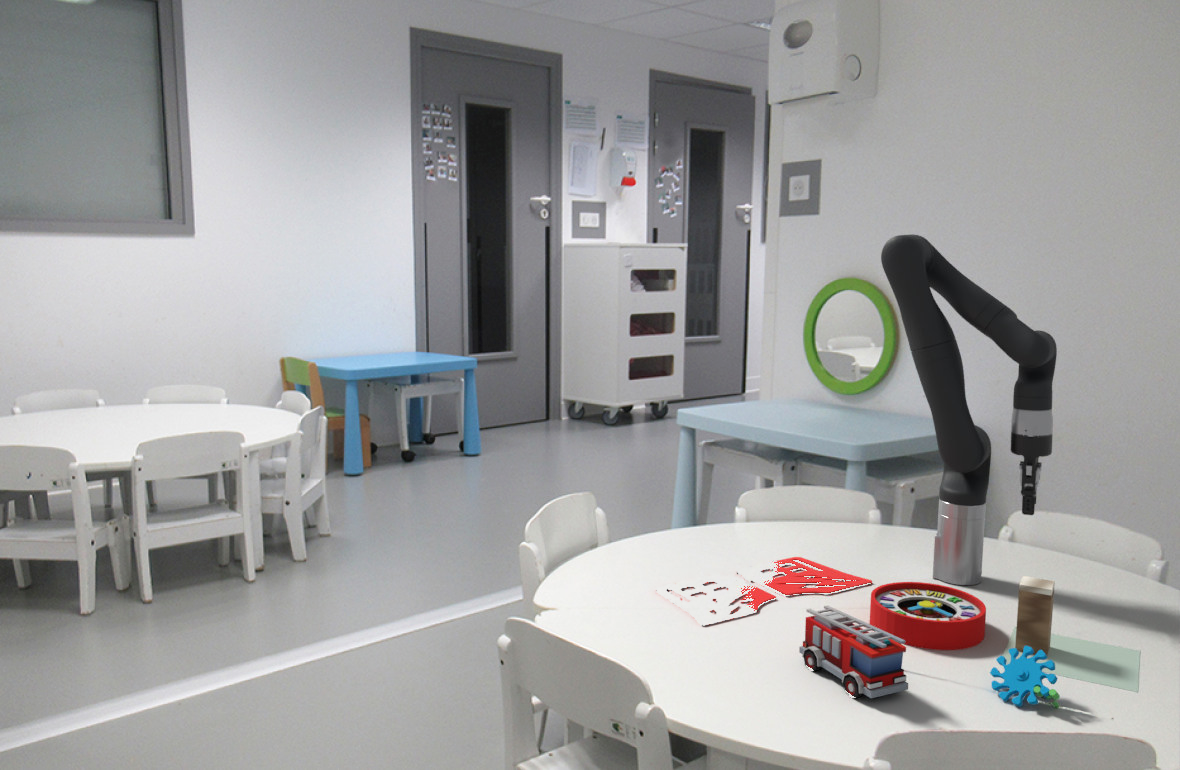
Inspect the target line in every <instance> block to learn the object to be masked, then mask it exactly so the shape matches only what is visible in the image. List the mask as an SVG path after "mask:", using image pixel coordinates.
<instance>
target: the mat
mask: <svg viewBox="0 0 1180 770" xmlns="http://www.w3.org/2000/svg"><path fill="white" fill-rule="evenodd" d="M1016 629H1017V626H1014V627H1013V629H1012V632H1011V633H1010V634H1011V635H1010V637H1009V639H1008V642H1007V645H1006V646H1005V649H1004V652H1003V655H1002V656H1004V657H1005V659H1006V660H1007V662H1006V665H1007V664H1009V663H1010V661H1011V655H1010V653H1009V649H1011V648H1015V644H1016ZM1022 654H1023V652H1019V655H1018V656H1017V657H1016V659H1018V658H1020V656H1021V655H1022ZM1033 656H1034V654H1032V655H1029V656H1027V658H1031V657H1033ZM1049 660H1052V661H1053V662H1054V663H1055V670H1053V671H1051V670H1049V669H1048V668H1043V669H1042V672H1044V673H1046V674H1054V675H1055V676H1059V677H1065V678H1069V679H1074V680H1079V681H1083V682H1088V683H1092V684H1096V685H1101V686H1107V687H1111V688H1116V689H1121V690H1126V691H1130V692H1135V693H1139V682H1140V681H1139V679H1140V662H1141V661H1140V660H1141V650H1138V649H1133V648H1128V647H1123V646H1116V645H1113V644H1107V643H1101V642H1097V641H1093V640H1087V639H1081V638H1076V637H1070V636H1066V635H1060V634H1055V633H1051V640H1050V648H1049V652H1048V655H1047V659H1045V660H1037V662H1036V663H1044V662H1047V661H1049Z"/></svg>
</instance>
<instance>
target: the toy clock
mask: <svg viewBox="0 0 1180 770" xmlns="http://www.w3.org/2000/svg"><path fill="white" fill-rule="evenodd" d="M869 606H870V607H869V608H870V609H869V624H870V625H872V626H874V627H877V628H879V629H881V630H883V631H885V632H888V633H890V634H892V635H894V636H896V637H899V638H901V639H903V640H905V643H903V644H901V643H899V644H901V645H904V646H910V647H914V648H919V649H926V650H934V651H958V650H959V651H960V650H967V649H969V648H973V647H976V646H978V645H979V644H981V643H982V642H983V641H984V639H985V634H986V616H987V608H986V605H985V603H984V602H983V601H982V600H981V599H979V598H978V597H976V596H975V595H973V594H971V593H968V592H966V591H963V590H961V589H958V588H954V587H951V586H946V585H943V584H942V585H941V584H938V583H931V582H922V581H920V582H919V581H898V582H890V583H885V584H881V585H879V586H877V587H875V588H874V589H873V590H872V591H871V593H870V605H869Z"/></svg>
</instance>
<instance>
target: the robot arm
mask: <svg viewBox="0 0 1180 770" xmlns="http://www.w3.org/2000/svg"><path fill="white" fill-rule="evenodd" d="M880 262H881V266H882V269H883V272H884V273H885V276H886V278H887V280H888V283H889V285H890V288H891V290H892V292H893V295H894V297H895V300H896V303H897V306H898V309H899V312H900V316H901V320H902V323H903V327H904V331H905V334H906V339H907V341H908V346H909V350H910V354H911V356H912V359H913V363H914V365H915V370H916V372H917V375H918V378H919V381H920V384H921V387H922V389H923V393H924V396H925V398H926V401H927V403H928V407H929V409H930V413H931V416H932V420H933V427H934V431H935V437H936V442H937V448H938V453H939V456H940V458H941V460H942V462H943V470H942V471H943V473H942V479H941V481H940V485H939V495H938V513H937V514H938V515H937V532H936V533H935V534H934V544H933V545H934V547H933V565H932V567H933V568H932V578H933V579H936V580H940V581H941V582H945V583H946V584H952V585H958V586H973V585H978V584H980V583H981V581H982V573H983V570H982V569H983V555H984V540H985V523H986V505H987V495H988V490H989V484H990V474H991V473H990V472H991V471H990V470H991V459H992V442H991V439H990V437H989V435H988V433H987V431H985V430H984V429H983V428H982V427H980V426H978V425H975V423H974V421H973V418H972V415H971V413H970V412H971V411H970V409H969V405H968V403H967V402H968V401H967V397H966V386H965V385H966V384H965V383H966V382H965V381H966V380H965V372H964V365H963V359H962V355H961V352H960V349H959V345H958V341H957V339H956V336H955V333H954V330H953V328H952V327H951V324H950V322H949V321H948V319H947V317H946V316H945V315H944V313H943V311H942V309H941V308H940V306H939V305H938V303H937V302H936V300H935V298H934V295H933V292H932V291H931V289H932V290H933V291H935V292H937V293H938V294H939V295H940V296H941V297H942V298H943V299H944V300H945V301H946V302H947V303H948V304H949V305H950V306H951V308H952V309H953V310H954V311H955V312H956V313H957V314H958V315H959V316H960V317H961V318H962V319H963V320H964V321H965V322H967V323H968V324H969V325H971V326H972V327H973V328H975V329H976V330H977V331H979V332H980V333H982V334H983V335H984V336H985V337H987V338H988V339H990V340H991V341H993V343H994V344H996V345H997V347H998V348H999V349H1000V350H1002V351H1003V353H1004V354H1006V355H1007V356H1008V357H1009V358H1010V359H1011V360H1012V361H1014V362H1015V363H1017V364H1018V376H1017V379H1016V381H1015V383H1014V386H1013V399H1012V400H1013V404H1012V414H1011V421H1010V422H1011V425H1010V452H1011V454H1013V455H1016V456H1021V457H1022V458H1023V460H1020V461H1019V462H1020V463H1019V467H1018V471H1019V473H1020V474H1019V485H1020V486H1021V490H1020V495H1021V498H1022V500H1021V501H1022V502H1021V504H1022V505H1021V514H1022V515H1025V516H1026V515H1027V516H1033V515H1035V509H1036V507H1035V505H1036V504H1037V488H1038V487H1039V486H1040V480H1041V474H1042V464H1043V463H1042V462H1039V458H1040V457H1041V458H1043V457H1044V458H1045V457H1049V456H1051V455H1052V453H1053V429H1054V418H1053V380H1054V376H1055V372H1056V371H1055V369H1056V363H1057V356H1058V355H1057V352H1058V351H1057V349H1058V348H1057V341H1056V340H1055V338H1054V337H1053V336H1052V335H1051V334H1050V333H1049V332H1046V331H1045V330H1039V329H1038V330H1034V329H1032V328H1031V327H1030V326H1029V325H1027V324H1026V323H1024V322H1023V321H1022V320H1020V318H1018V315H1017V313H1016V312H1015V311H1014V310H1012V309H1011V308H1010V307H1008V305H1006V304H1004V303H1003V302H1002V301H1000V300H999V299H998V298H996V297H995V296H993V295H992V294H990V293H989V292H988V291H987V290H985V289H983V288H982V287H981V286H979V285H978V284H977V283H975V282H974V281H972V280H971V279H970V278H968V277H967V276H966V275H964V274H963V273H962V272H960V270H959V269H957V268H956V267H955V266H954V265H953V264H951V263H950V261H949V260H948V259H946V257H945V256H944V255H942V253H940V251H939V250H938V249H937V248H936V247H935V246H934V245H933V244H932V243H931V242H930V241H929V240H928V239H927V238H925V237H924V236H922V235H919V234H900V235H896V236H892V237H891V238H889V239H888V240H887V241H886V242H885V244H884V246H883V247H882V250H881V254H880Z"/></svg>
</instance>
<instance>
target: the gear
mask: <svg viewBox="0 0 1180 770" xmlns="http://www.w3.org/2000/svg"><path fill="white" fill-rule="evenodd" d="M1009 653H1010V655H1011V661H1010V663H1009V664H1006V662H1007V660H1006V659H1005V657H1004V656H1003V655H1000V656H998V657H997V658H996V662H997V663H998V665H1000V666H1002V667H1003V669H1004V671H1003V672H1000V670H999V669H998V668H997V667H994V666H993V667H992V668H991V670H990V671H989V674H990V675H991V676H992V677H993V678H1000V679H1002V680H1004V681H1003V682H1001V683H1000V682H998V681H997V680H992V681H991V688H992V690H993V691H995V692H998V691H1000V690H1002V689H1009V690H1008V691H1000V692H999V693H998V697H999V698H1000V699H1001V700H1002V701H1003V702H1005V703H1006V702H1008V701H1009V699H1010V697H1013V695H1016V694H1018V695H1016V696H1014V697H1013V698H1012V699H1011V702H1012V704H1013V705H1015V706H1016V707H1020V708H1021V707H1022V706H1023V701H1024V699H1025V696H1026V695H1027V694H1029V693H1030V694H1029V695H1028V696H1027V697H1026V701H1027V702H1028V704H1029V705H1031V706H1032V705H1038V704H1039V699H1038V698H1037V697H1039V698H1041V699H1042V700H1044V701H1045V702H1046V703H1048V704H1052V705H1053V706H1054V708H1056V709H1058V708H1060V703H1058V701H1057V700H1059V699H1060V694H1059V693H1058V692H1057V690H1056V689H1055V688H1051V689H1050V688H1049V687H1047V686H1046V685H1044V684H1043V680H1044V679H1046V680H1047V682H1048V683H1049V684H1051V685H1055V684H1056V683H1057V682H1058V677H1057V675H1054V674H1050V673H1045V672H1042V669H1043V668H1048V669H1049V670H1051V671H1053V670H1055V663H1054V662H1053V661H1052V660H1049V661H1047V662H1044V663H1036V662H1037V660H1045V659H1047V655H1046V654H1045V653H1044V652H1043V651H1042V650H1039V651H1038V652H1037V653H1036V655H1034V656H1033V657H1031V658H1027V656H1029V655H1032V654H1033V653H1034V650H1033V649H1032V648H1031V647H1029V646H1024V648H1023V654H1022V655H1021V656H1020V658H1018V659H1016V657H1017V656H1018V655H1019V651H1018V650H1017V649H1016V648H1011V649H1009Z"/></svg>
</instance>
